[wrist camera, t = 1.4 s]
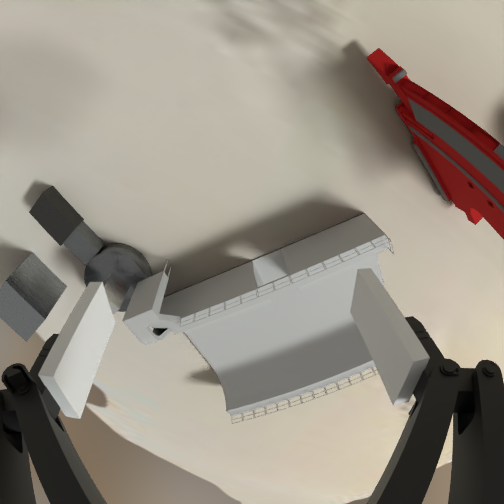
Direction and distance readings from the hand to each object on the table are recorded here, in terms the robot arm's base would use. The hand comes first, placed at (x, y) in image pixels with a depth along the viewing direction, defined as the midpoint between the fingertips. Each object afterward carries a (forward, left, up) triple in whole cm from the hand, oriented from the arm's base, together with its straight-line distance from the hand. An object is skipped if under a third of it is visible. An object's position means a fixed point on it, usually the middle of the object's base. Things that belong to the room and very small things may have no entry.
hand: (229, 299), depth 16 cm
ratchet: (0, -20, -24) cm, 31 cm away
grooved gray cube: (-8, -33, -24) cm, 41 cm away
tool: (+8, +23, -27) cm, 36 cm away
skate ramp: (+19, -6, -24) cm, 31 cm away
